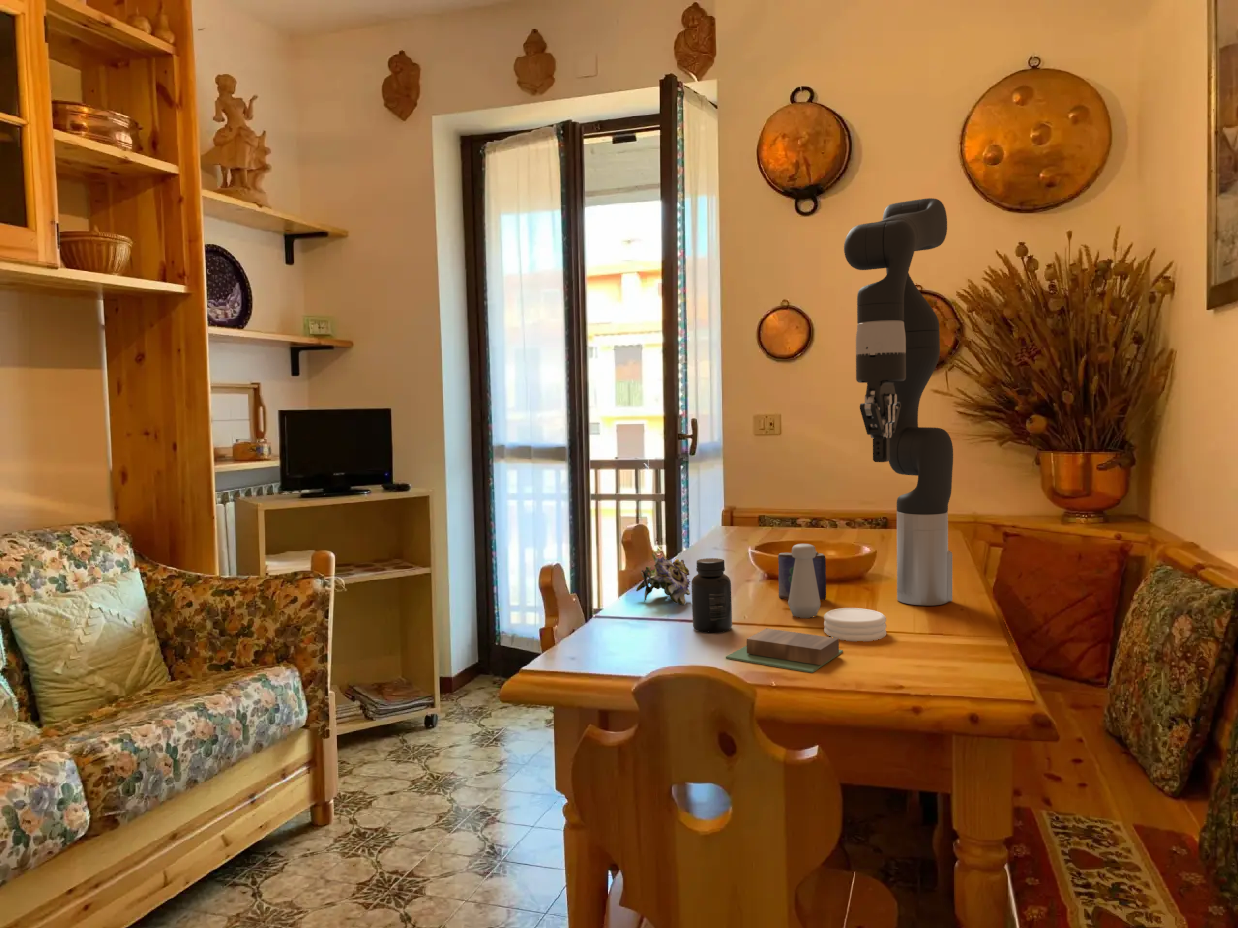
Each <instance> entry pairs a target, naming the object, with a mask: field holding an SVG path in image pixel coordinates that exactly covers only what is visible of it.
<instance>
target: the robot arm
mask: <svg viewBox="0 0 1238 928" xmlns="http://www.w3.org/2000/svg"><path fill="white" fill-rule="evenodd" d="M947 216H948V215H947V211H946V207H945V204H944V203H943V202H942V201H941V200H940V199H937V198H934V197H933V198H932V197H931V198H930V197H929V198H921V199H915V200H907V201H900V202H895V203H891V204H888V205H887V206H886V207H885V209H884V211H883V214H882V220H880V221H875V222H869V223H863V224H862V223H861V224H858V225H855V226H853V227H852V228H851V229H850V230H849V232H848V233H847V235H846V236H845V240H844V243H843V244H844V246H843V252H844V257H845V260H846V261H847V263H848V264H849V265H850V267H851V268H853V269H855V270H857V271H869V270H870V271H871V270H878V269H881V270H882V269H885V272H886V275H885V277H884V278H883V279H881V280H879V281H876V282H873V283H870V284H867V285H864V286H862V287H860V289H858V291H857V295H856V297H857V298H856V305H857V306H856V307H857V308H856V323H857V325H856V333H855V380H856V382H857V383H861V384H866V391H865V395H864V403H863V402H862V403H860V404H859V410H860V411H859V412H860V415H861V418H862V420H863V425H864V427H865V431H866V435H868V436H869V435H870V439H872V461H873V462H875V463H887V462H888V463H889V464H888V465H889V466H890V467H891V469H892V470H893V472H894V473H896V474H898V475H904V476H917V482H916V483H917V484H916V487H915V488H914V489H913V490H911V491H909V492H905V493H904V494H903V493H902V494H901V495H899V496H898V497H897V499H896V600H897V601H898V602H900V603H903V604H908V605H915V606H939V605H940V606H941V605H945V604H947V603H949V602H953V551H951V550H949V517H948V516H949V502H950V498H951V495H952V483H953V468H954V467H953V466H954V446H953V442H952V438H951V436H950V435H949V433H948V432H947V431H946V430H945V429H943V428H942V427H941V428H940V427H931V426H930V427H926V426H925V427H923V426H921V427H919V422H918V421H919V405H920V401H921V398H922V395H923V392H924V390H925V388H926V386H927V384H928V383H929V381H930V379H931V378H932V375H933V373H934V371H935V370H936V367H937V364H938V362H939V359H940V355H941V353H940V352H941V342H940V341H941V338H940V337H941V336H940V321H939V318H938V316H937V313H936V312H935V310H934V308H932V306H931V305H930V303H929V302H928V300H927V299H926V298H925V297H924V296H923V294H922V292H921V291H920V290H919V288H918V287H917V286H916V285H915V282H914V281H913V279H912V277H911V275H910V273H909V271H910V268H911V264H912V261H913V257H914V254H915V252H919V251H928V250H932V249H935V248H938V247H940V246H941V245H942V244H943V243H944V242H945V239H946V238H947V234H948V233H947V232H948V217H947Z"/></svg>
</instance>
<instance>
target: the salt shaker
mask: <svg viewBox="0 0 1238 928" xmlns="http://www.w3.org/2000/svg"><path fill="white" fill-rule="evenodd" d="M816 552H817V550H816V546H815V545H813V544H810V543H797V544H794V545H793V546H792V548H791V553H792V556H793V557H794V558H795V564H794V570H793V576H792V582H791V589H790V595H789V599H787V600H788V601H787V604H788V607H789V609H790V612H791V615H792V616H793V617H795V616H796V617H795V618H798V617H800V618H799V619H811V618H810V617H812V618H814V617H813V616H816V617H817V615H818V613H819V610H820V608H821V601H820V597H819V592H818V586H817V581H816V575H815V570H814V564H813V559H812V558H815V556H816Z"/></svg>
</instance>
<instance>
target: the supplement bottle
mask: <svg viewBox="0 0 1238 928" xmlns="http://www.w3.org/2000/svg"><path fill="white" fill-rule="evenodd" d="M725 571H726V568H725V560H724V559H723V558H713V557H712V558H711V557H707V558H701V559H700V558H699V559H697V560H696V573H697V574H696V575H695V576H694V577H693V578H692V579H691V614H692V628H693V629H694V630H695V631H697V632H699V633H704V634H705V633H706V634H719V633H725V632H728V631H730V630H731V629H732V627H733V608H732V607H733V606H732V582H731V581H732V580H731V578H730V577H729V576H728V575H727V574H725Z"/></svg>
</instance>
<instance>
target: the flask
mask: <svg viewBox="0 0 1238 928" xmlns="http://www.w3.org/2000/svg"><path fill="white" fill-rule="evenodd" d="M777 559H778V579H777V580H778V598H779V599H784V600H789V595H790V589H791V582H792V576H793V570H794V564H795V558H794V557H793V556H792V552H780V553H778V555H777ZM812 559H813V564H814V570H815V575H816V581H817V586H818V592H819V597H820V600H822V601H826V600H827V599H826V598H827V574H826V573H827V571H826V570H827V569H826V568H827V566H826V561H827V560H826V559H827V557H826V555H825V554H824V553H820V552H818V551H816V556H815V558H812ZM825 599H826V600H825Z"/></svg>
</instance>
